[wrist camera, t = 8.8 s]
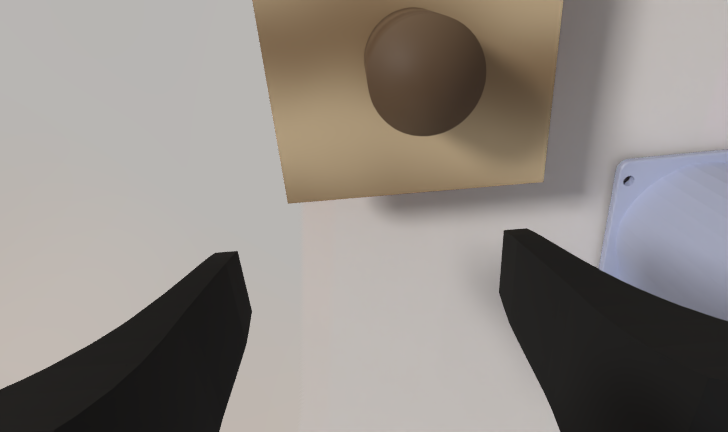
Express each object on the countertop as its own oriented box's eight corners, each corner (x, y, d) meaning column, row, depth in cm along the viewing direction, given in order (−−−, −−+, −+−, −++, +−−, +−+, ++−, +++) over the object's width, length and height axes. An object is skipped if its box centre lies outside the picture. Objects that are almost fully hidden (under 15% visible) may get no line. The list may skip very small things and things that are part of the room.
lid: (537, 176, 18) (586, 226, 14) (289, 197, 18) (274, 252, 14) (569, -133, 14) (653, -179, 10) (238, -102, 14) (196, -135, 10)
